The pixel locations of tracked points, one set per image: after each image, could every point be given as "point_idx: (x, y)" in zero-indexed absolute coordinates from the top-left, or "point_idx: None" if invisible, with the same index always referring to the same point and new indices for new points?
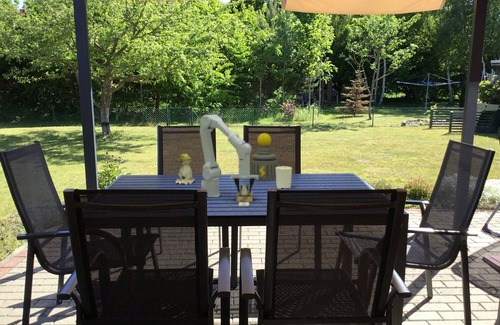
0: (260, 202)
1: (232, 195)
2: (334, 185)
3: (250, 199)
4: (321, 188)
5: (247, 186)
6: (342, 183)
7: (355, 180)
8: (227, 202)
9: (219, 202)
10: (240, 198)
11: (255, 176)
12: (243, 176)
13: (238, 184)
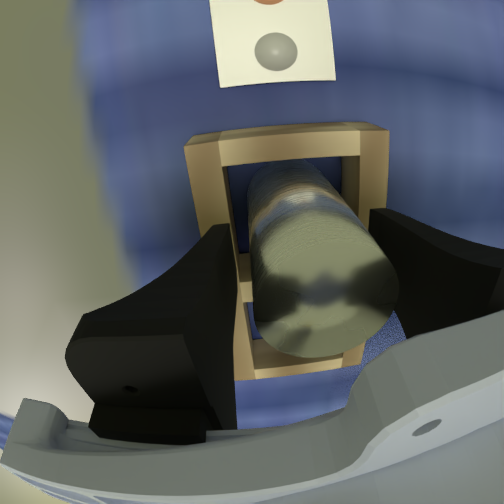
0: (104, 131)
1: (388, 334)
2: (2, 431)
3: (209, 136)
4: (3, 416)
5: (263, 269)
6: (3, 439)
7: (3, 448)
8: (442, 109)
9: (492, 118)
10: (337, 129)
11: (43, 465)
12: (474, 432)
13: (456, 252)
